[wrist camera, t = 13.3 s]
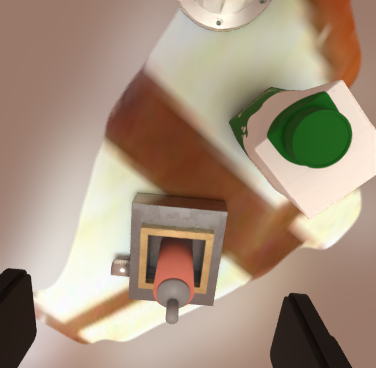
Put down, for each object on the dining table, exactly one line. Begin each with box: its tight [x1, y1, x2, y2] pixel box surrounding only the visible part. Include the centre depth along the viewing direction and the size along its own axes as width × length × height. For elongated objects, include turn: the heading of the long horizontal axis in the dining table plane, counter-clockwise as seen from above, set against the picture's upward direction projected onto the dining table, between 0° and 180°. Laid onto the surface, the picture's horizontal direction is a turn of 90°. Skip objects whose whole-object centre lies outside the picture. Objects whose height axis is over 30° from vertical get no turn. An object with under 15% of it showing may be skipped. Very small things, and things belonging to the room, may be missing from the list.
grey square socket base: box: [111, 193, 228, 306], centre depth 42 cm, size 16×16×5 cm
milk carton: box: [229, 80, 376, 219], centre depth 28 cm, size 9×9×20 cm
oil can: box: [153, 236, 194, 324], centre depth 37 cm, size 5×5×13 cm
